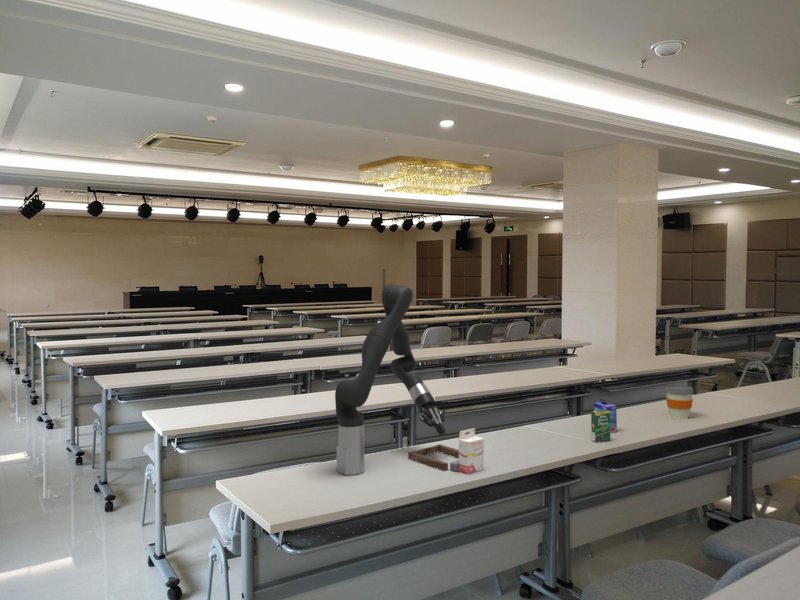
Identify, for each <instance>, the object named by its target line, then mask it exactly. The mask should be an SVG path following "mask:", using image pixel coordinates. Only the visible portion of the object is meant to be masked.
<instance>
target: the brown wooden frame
mask: <svg viewBox="0 0 800 600" xmlns="http://www.w3.org/2000/svg"><path fill="white" fill-rule="evenodd" d="M437 451H439V452H437ZM434 452H437V453H440V452H443V453H446V454H448V455H447V456H449V455H451V457H453V456H454V457H453V458H456V457H457V458H456V459H459V449H457V448H453V447H450V446H446V445H443V444H437V445H432V446H428V447H424V448H420V449H417V450H413V451H412V450H411V451H408V453H407V454H408V455H407V456H408V457H407V458H408V460H411V461H414V462H416V461H417V462H416V463H419V462H420V464H422V463H423V465H425V464H426V466H428V465H429V467H431V466H432V467H431V468H434V467H435V468H434V469H437V468H438V470H440V469H441V470H440V471H443V470H444V472H445V470H446V471H448V470H449V463H448V462H446V461H444V460H440V459H436V458H434V457H431V456H429V455H431V454H430V453H433V454H435V453H434ZM443 453H442V454H443ZM427 454H429V455H427ZM446 454H445V455H446ZM425 455H426V456H425Z"/></svg>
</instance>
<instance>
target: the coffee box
mask: <svg viewBox="0 0 800 600" xmlns="http://www.w3.org/2000/svg"><path fill="white" fill-rule="evenodd" d="M590 414H591V415H590V417H591V420H590V421H591V422H590V423H591V426H590V427H591V442H592V443H593V442H594V443H599V442H600V443H601V442H609V441H611V433H610V411H609V410H599V411H594V410H593V411H590Z"/></svg>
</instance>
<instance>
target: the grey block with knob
mask: <svg viewBox="0 0 800 600" xmlns="http://www.w3.org/2000/svg"><path fill="white" fill-rule="evenodd" d="M449 470H452V471H454V472H459V459H457V460H454V461H451V462H450V463H449Z"/></svg>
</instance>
